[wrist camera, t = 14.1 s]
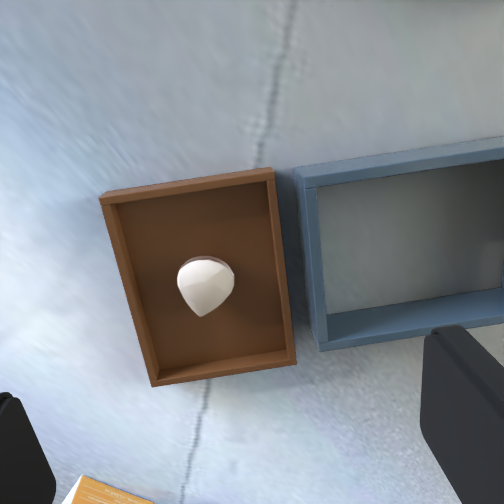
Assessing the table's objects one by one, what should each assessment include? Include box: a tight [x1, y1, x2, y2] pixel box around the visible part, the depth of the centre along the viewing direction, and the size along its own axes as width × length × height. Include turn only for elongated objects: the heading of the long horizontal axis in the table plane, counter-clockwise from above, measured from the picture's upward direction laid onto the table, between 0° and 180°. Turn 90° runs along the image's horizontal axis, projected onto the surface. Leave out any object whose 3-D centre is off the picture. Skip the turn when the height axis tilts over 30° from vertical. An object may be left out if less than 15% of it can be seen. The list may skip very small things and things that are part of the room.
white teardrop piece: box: [177, 256, 234, 317], centre depth 31 cm, size 4×5×2 cm
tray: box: [99, 167, 297, 387], centre depth 32 cm, size 16×12×2 cm
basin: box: [293, 136, 504, 352], centre depth 31 cm, size 14×18×4 cm
